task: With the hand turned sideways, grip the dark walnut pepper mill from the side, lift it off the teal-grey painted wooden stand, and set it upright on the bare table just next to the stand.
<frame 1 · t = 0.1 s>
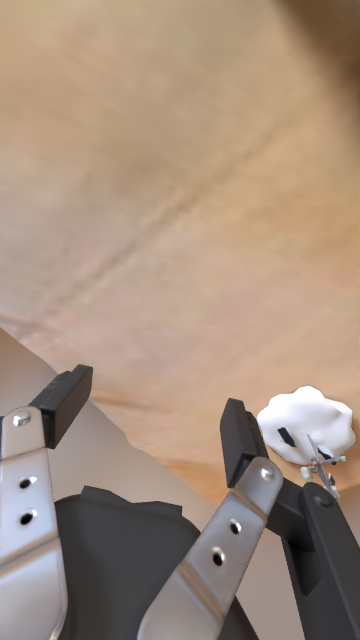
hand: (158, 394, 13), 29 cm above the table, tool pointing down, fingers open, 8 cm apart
figurine: (303, 423, 49), on the table
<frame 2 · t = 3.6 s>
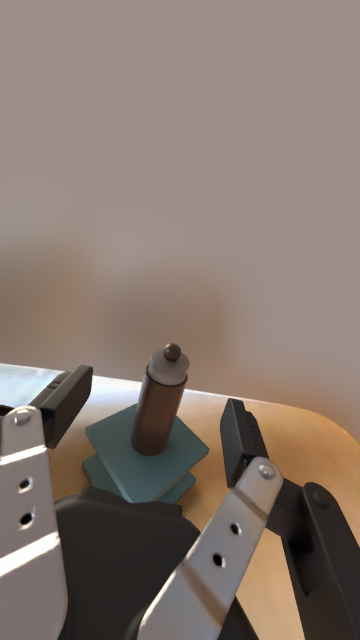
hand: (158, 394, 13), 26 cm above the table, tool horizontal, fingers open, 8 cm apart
pepper mill: (149, 438, 31), point 8 cm above the table, touching stand
stand: (139, 475, 34), on the table
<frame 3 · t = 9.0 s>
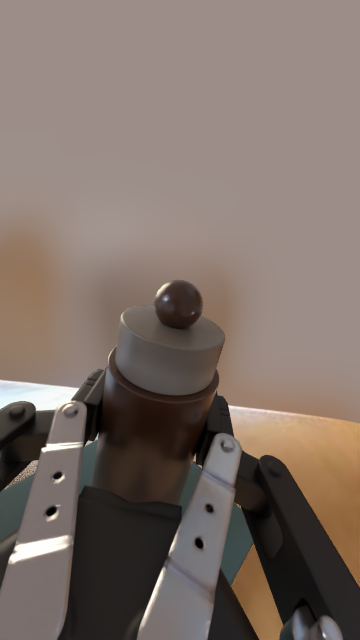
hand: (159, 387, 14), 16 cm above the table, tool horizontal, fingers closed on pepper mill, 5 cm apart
pepper mill: (131, 514, 14), point 8 cm above the table, touching gripper, stand
stand: (116, 581, 17), on the table
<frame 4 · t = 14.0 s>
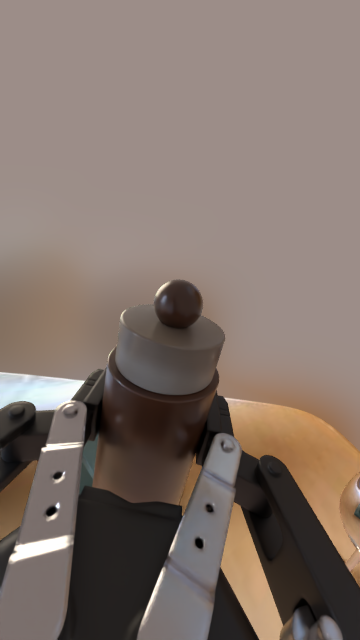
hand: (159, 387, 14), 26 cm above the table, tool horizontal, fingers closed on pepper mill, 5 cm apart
pepper mill: (131, 514, 14), point 18 cm above the table, touching gripper
stand: (122, 475, 34), on the table
wineglass: (329, 588, 27), on the table
when the fingers open (8 cm above the table, at t = 19.3 s): pepper mill stays where it is, on the table.
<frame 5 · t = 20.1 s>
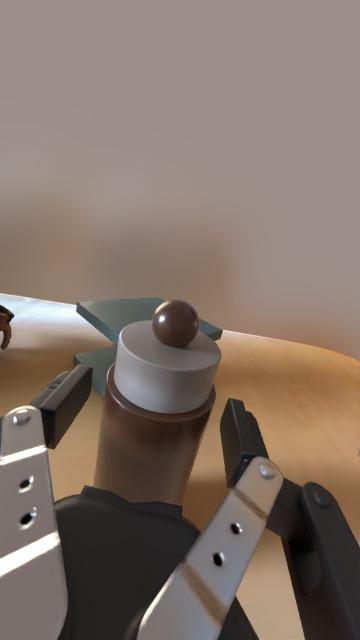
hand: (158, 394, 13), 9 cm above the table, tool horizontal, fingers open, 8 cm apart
pepper mill: (130, 523, 14), on the table
stand: (141, 374, 29), on the table
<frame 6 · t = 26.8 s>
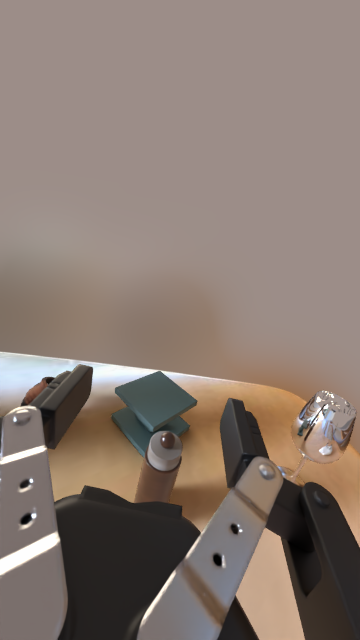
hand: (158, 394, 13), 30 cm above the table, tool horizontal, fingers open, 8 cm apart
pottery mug: (47, 418, 45), on the table
pepper mill: (150, 506, 34), on the table
stand: (150, 424, 49), on the table
wineglass: (287, 487, 42), on the table
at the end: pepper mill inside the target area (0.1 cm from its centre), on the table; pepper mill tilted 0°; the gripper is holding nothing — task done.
